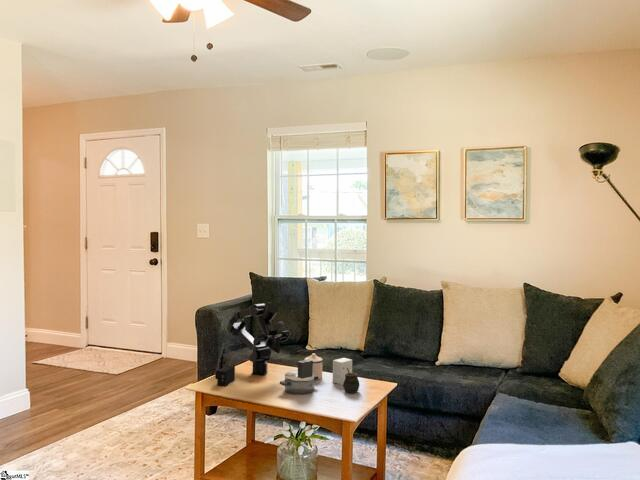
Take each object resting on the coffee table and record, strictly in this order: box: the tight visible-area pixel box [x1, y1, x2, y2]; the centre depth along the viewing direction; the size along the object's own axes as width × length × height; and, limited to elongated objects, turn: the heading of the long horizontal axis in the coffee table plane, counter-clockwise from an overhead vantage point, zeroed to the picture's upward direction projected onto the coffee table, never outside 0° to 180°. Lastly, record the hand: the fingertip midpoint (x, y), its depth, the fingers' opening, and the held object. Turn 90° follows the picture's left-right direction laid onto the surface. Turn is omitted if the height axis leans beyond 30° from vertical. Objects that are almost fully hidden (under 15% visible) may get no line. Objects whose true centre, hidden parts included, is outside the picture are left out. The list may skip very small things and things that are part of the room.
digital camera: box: [214, 365, 236, 388], centre depth 254 cm, size 10×5×7 cm, turn 166°
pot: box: [279, 375, 319, 396], centre depth 245 cm, size 13×19×6 cm
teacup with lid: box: [303, 353, 324, 381], centre depth 265 cm, size 12×9×12 cm
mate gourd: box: [342, 368, 360, 394], centre depth 244 cm, size 7×8×10 cm
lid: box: [284, 359, 314, 382], centre depth 245 cm, size 13×13×8 cm
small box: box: [332, 357, 353, 386], centre depth 258 cm, size 8×6×10 cm
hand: (279, 353), depth 257 cm, fingers closed
